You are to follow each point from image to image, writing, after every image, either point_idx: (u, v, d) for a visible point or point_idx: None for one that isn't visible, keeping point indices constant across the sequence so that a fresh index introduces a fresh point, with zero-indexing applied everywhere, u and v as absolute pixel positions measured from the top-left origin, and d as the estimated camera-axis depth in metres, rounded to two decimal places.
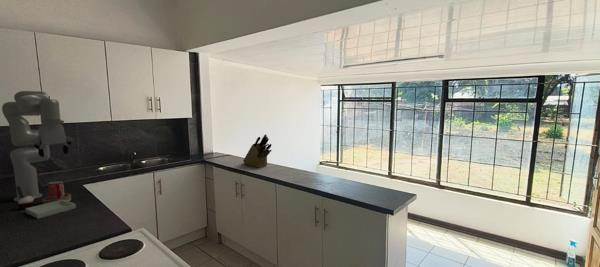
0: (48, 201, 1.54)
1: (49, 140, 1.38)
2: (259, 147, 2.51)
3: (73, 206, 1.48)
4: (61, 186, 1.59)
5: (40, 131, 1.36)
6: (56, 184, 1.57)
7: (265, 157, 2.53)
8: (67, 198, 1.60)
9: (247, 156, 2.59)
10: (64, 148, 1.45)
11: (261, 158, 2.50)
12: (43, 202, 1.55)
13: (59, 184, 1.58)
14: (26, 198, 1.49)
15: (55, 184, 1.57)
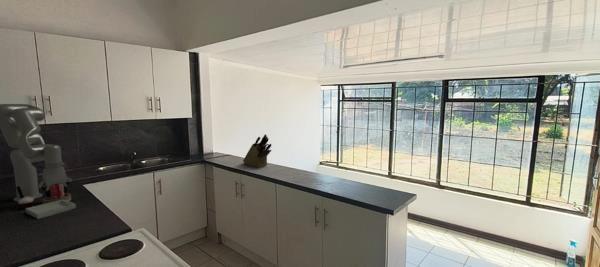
0: (48, 201, 1.54)
1: (52, 181, 1.56)
2: (259, 147, 2.52)
3: (73, 206, 1.48)
4: (61, 186, 1.59)
5: (44, 174, 1.54)
6: (56, 184, 1.57)
7: (265, 157, 2.53)
8: (67, 198, 1.60)
9: (247, 156, 2.59)
10: None
11: (261, 158, 2.50)
12: (43, 202, 1.55)
13: (59, 184, 1.58)
14: (26, 198, 1.49)
15: (55, 184, 1.57)
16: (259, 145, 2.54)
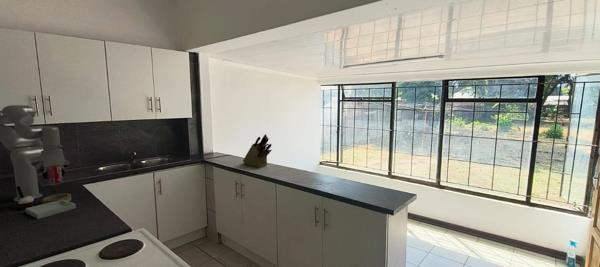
0: (48, 201, 1.54)
1: (50, 163, 1.55)
2: (259, 147, 2.52)
3: (73, 206, 1.48)
4: (59, 168, 1.58)
5: (42, 155, 1.53)
6: (54, 166, 1.56)
7: (265, 157, 2.53)
8: (67, 198, 1.60)
9: (247, 156, 2.60)
10: None
11: (261, 158, 2.50)
12: (43, 202, 1.55)
13: (57, 166, 1.57)
14: (26, 198, 1.49)
15: (53, 166, 1.56)
16: (259, 145, 2.54)
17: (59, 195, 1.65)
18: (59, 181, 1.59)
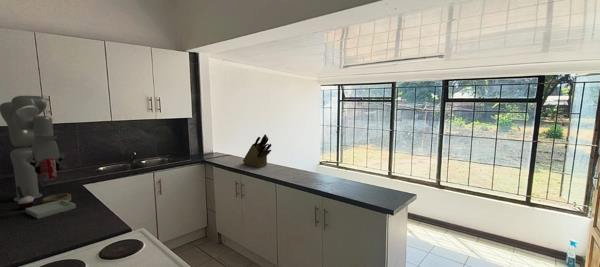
0: (48, 201, 1.54)
1: (42, 156, 1.41)
2: (259, 147, 2.52)
3: (73, 206, 1.48)
4: (52, 162, 1.44)
5: (33, 148, 1.39)
6: (47, 159, 1.42)
7: (265, 157, 2.53)
8: (67, 198, 1.60)
9: (247, 156, 2.60)
10: None
11: (261, 158, 2.50)
12: (43, 202, 1.55)
13: (50, 160, 1.43)
14: (26, 198, 1.49)
15: (46, 159, 1.42)
16: (259, 145, 2.54)
17: (59, 195, 1.65)
18: (53, 176, 1.44)
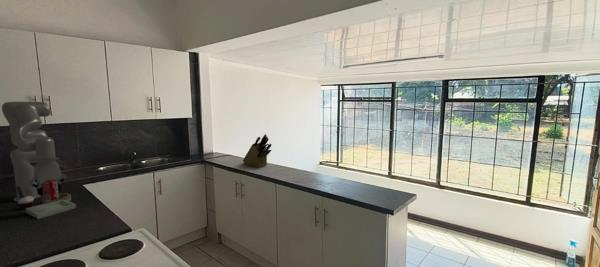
0: None
1: (44, 178, 1.42)
2: (259, 147, 2.52)
3: (73, 206, 1.48)
4: (55, 183, 1.45)
5: (36, 170, 1.40)
6: (49, 181, 1.43)
7: (265, 157, 2.54)
8: (67, 198, 1.60)
9: (247, 156, 2.60)
10: None
11: (261, 158, 2.51)
12: (43, 202, 1.55)
13: (52, 181, 1.44)
14: (26, 198, 1.49)
15: (48, 181, 1.42)
16: (259, 145, 2.54)
17: (59, 195, 1.65)
18: (55, 197, 1.45)
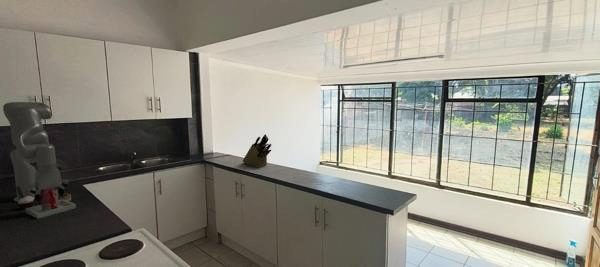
0: None
1: (45, 185, 1.42)
2: (259, 147, 2.52)
3: (73, 206, 1.48)
4: (55, 192, 1.45)
5: (36, 177, 1.40)
6: (49, 190, 1.43)
7: (265, 157, 2.54)
8: (67, 198, 1.60)
9: (247, 156, 2.60)
10: (60, 190, 1.49)
11: (261, 158, 2.51)
12: None
13: (52, 190, 1.45)
14: (26, 198, 1.49)
15: (48, 190, 1.43)
16: (259, 145, 2.54)
17: (59, 195, 1.65)
18: (55, 206, 1.46)
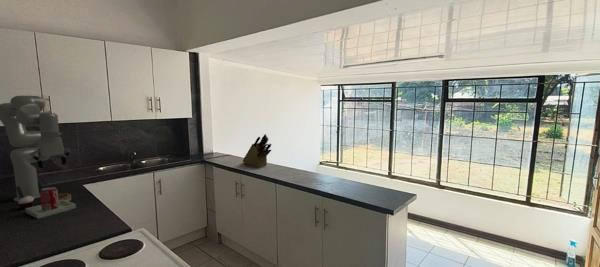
0: None
1: (48, 152, 1.45)
2: (259, 147, 2.52)
3: (73, 206, 1.48)
4: (55, 193, 1.45)
5: (39, 143, 1.43)
6: (49, 190, 1.43)
7: (265, 157, 2.54)
8: (67, 198, 1.60)
9: (247, 156, 2.60)
10: (62, 159, 1.52)
11: (261, 158, 2.51)
12: None
13: (53, 190, 1.44)
14: (26, 198, 1.49)
15: (48, 190, 1.43)
16: (259, 145, 2.54)
17: (59, 195, 1.65)
18: (56, 206, 1.46)
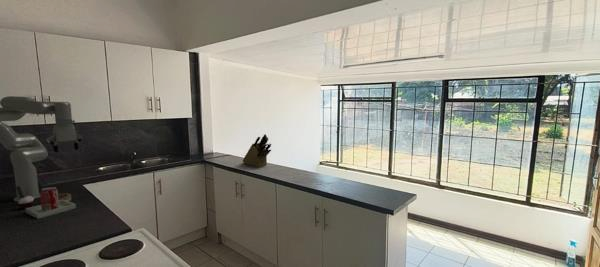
0: None
1: (62, 137, 1.58)
2: (259, 147, 2.53)
3: (73, 206, 1.48)
4: (55, 192, 1.45)
5: (55, 129, 1.56)
6: (49, 190, 1.43)
7: (265, 157, 2.54)
8: (67, 198, 1.60)
9: (247, 156, 2.60)
10: (75, 144, 1.65)
11: (261, 158, 2.51)
12: None
13: (53, 190, 1.44)
14: (26, 198, 1.49)
15: (48, 190, 1.43)
16: (259, 145, 2.54)
17: (59, 195, 1.65)
18: (55, 206, 1.46)
